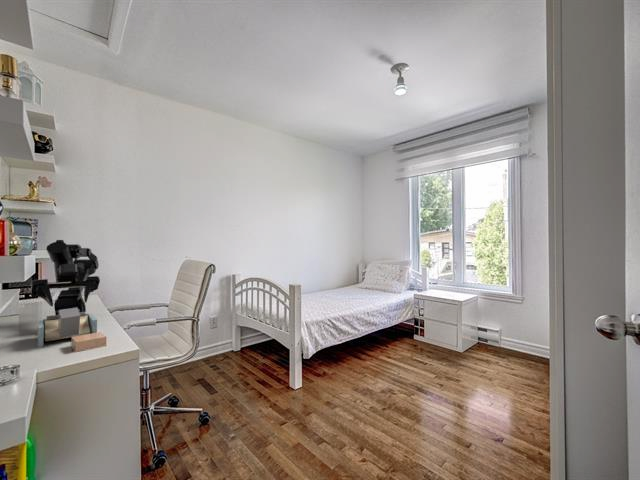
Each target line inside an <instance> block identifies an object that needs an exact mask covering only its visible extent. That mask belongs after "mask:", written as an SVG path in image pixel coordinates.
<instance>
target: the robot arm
mask: <svg viewBox="0 0 640 480" xmlns="http://www.w3.org/2000/svg"><path fill="white" fill-rule="evenodd" d="M46 251H47V253H48V255H49V258H50V260H51V262H52V263H53V267H54V276H55V281H54V282H52V281H51V282H49V281H48V280H49V279H48V278H43V279H42V278H41V279H33V280H32V281H31V284H30V285H31V286H30V296H36V297H37V298H41V299H42V300H43V301H45V302H46V303H47V305H49V306H50V307H54V315H59V310H63V309H69V308H76V307H78V310H79V312H85V313H86V312H87V309H86V306H87V305H86V304H87V302H88V298H89V295H90V294H91V293H93V292H94V291H97V290H98V289H99V285H100V282H101V279H100V277H99V276H98V275H96V276H95V275H94V276H92V275H93V274H96V271H97V270H98V269H99V265H100V264H99V260H98V256H97V255H95V254H94V253H93V252H92V249H91V248H89V247H82V246H81V245H80V244H79V243H77V244H76V243H75V244H69V243H66V242H65V240H64V239H56V241H54V242H51V243H49V244H48V245H46ZM84 257H85V258H86V259H85V258H84ZM80 258H83V259H80ZM87 258H88V259H87ZM50 289H51V290H52V289H62V290H60V292H59V294H58V295H57V298H56V299H55V300H53V297H52V293H51V290H50ZM83 290H84V292H83ZM82 292H83V293H82ZM82 294H83V296H82ZM83 297H84V298H83ZM53 301H54V302H53Z"/></svg>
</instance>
